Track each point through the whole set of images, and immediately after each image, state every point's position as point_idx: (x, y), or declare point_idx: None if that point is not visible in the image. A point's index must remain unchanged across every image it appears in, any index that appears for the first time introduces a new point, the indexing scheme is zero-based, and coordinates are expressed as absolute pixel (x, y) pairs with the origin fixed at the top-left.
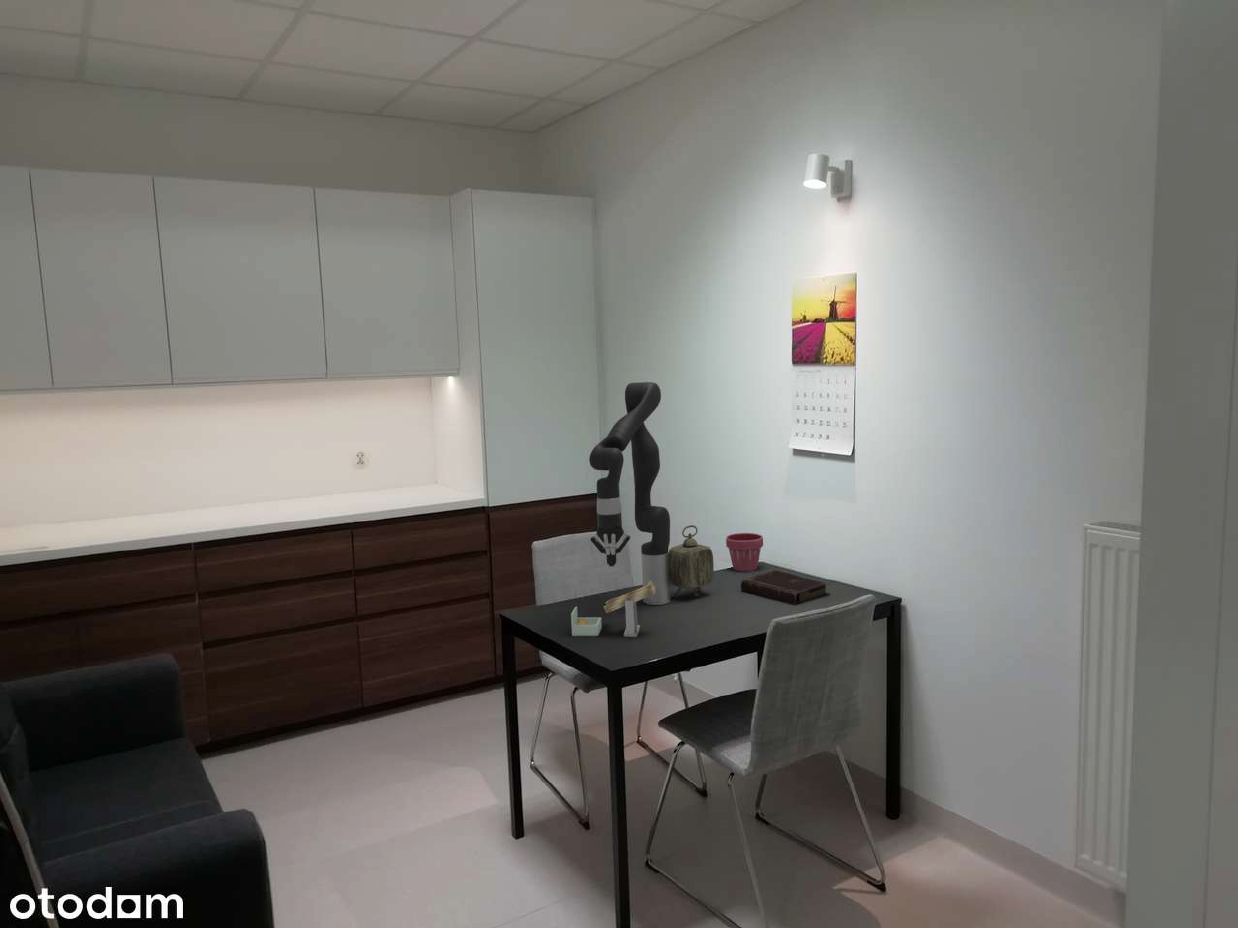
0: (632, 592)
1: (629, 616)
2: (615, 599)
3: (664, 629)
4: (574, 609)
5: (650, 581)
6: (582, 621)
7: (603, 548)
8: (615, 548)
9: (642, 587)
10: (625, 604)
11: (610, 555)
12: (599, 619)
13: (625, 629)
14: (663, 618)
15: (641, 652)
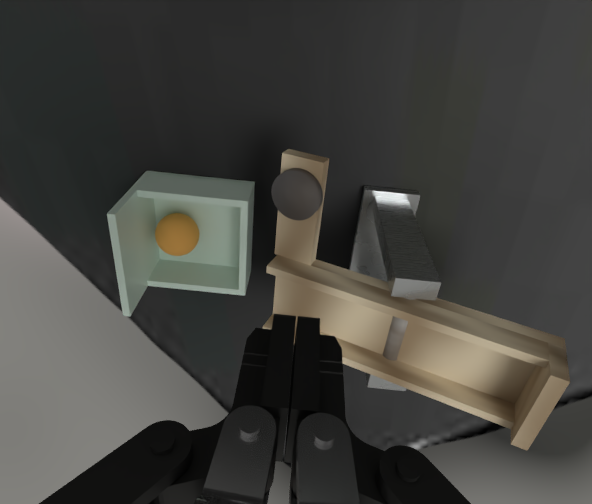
0: (419, 323)
1: None
2: (319, 287)
3: (513, 228)
4: (118, 259)
5: (553, 396)
6: (174, 250)
7: (170, 502)
8: (344, 489)
9: (489, 343)
10: (366, 373)
11: (279, 455)
12: (243, 227)
13: (354, 244)
14: (560, 65)
15: (390, 403)
